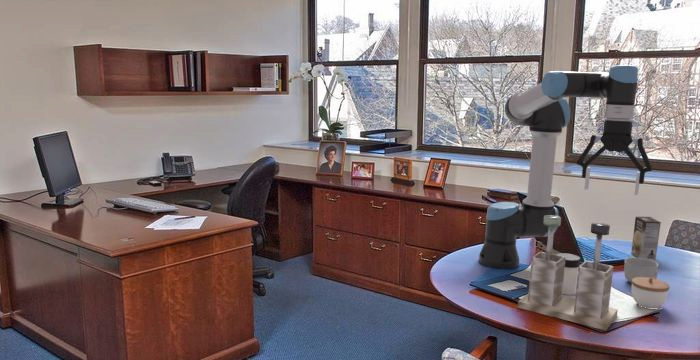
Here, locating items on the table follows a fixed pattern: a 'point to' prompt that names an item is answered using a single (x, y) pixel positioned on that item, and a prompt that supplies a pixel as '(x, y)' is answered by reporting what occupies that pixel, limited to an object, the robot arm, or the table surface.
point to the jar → (570, 273)
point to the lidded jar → (649, 292)
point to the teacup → (640, 268)
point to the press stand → (583, 309)
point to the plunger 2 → (598, 240)
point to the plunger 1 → (551, 232)
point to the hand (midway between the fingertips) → (610, 191)
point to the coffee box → (645, 238)
